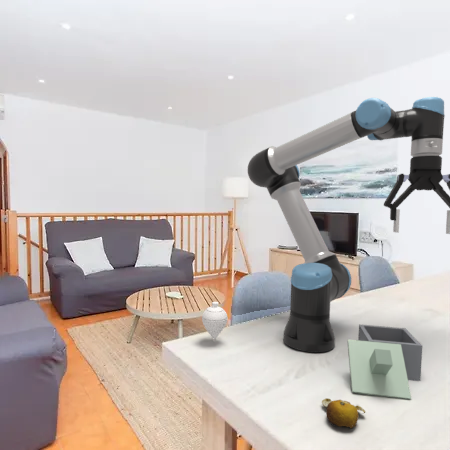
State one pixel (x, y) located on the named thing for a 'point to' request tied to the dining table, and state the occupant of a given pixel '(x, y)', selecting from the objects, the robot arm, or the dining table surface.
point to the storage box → (396, 336)
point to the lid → (378, 369)
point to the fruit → (341, 412)
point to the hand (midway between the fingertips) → (422, 233)
